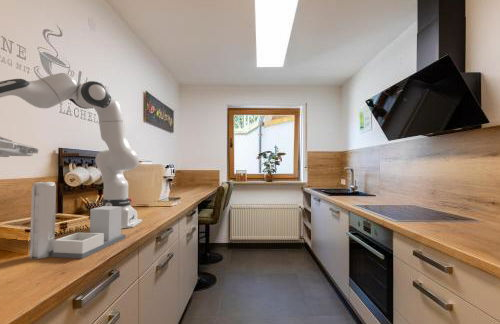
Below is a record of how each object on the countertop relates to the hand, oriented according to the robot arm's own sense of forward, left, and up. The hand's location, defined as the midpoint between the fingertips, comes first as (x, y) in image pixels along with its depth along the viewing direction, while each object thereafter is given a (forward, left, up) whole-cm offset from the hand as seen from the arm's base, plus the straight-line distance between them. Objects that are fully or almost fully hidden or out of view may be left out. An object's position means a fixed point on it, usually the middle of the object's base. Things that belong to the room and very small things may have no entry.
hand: (26, 148), depth 87 cm
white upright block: (0, +7, -37) cm, 37 cm away
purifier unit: (-12, +16, -36) cm, 42 cm away
